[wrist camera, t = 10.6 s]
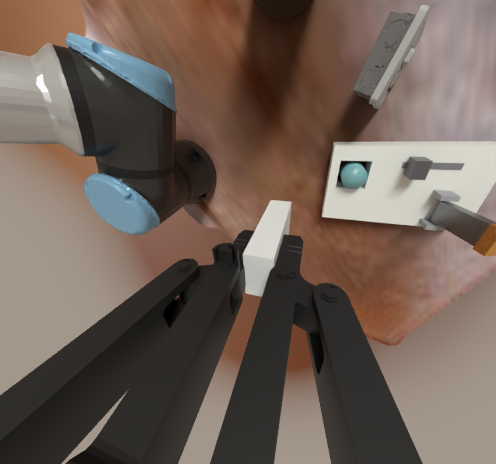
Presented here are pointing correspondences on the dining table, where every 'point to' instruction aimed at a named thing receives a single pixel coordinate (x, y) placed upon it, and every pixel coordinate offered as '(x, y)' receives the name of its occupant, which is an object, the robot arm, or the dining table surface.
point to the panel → (409, 181)
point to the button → (353, 174)
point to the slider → (417, 168)
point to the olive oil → (282, 8)
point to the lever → (466, 226)
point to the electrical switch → (390, 55)
